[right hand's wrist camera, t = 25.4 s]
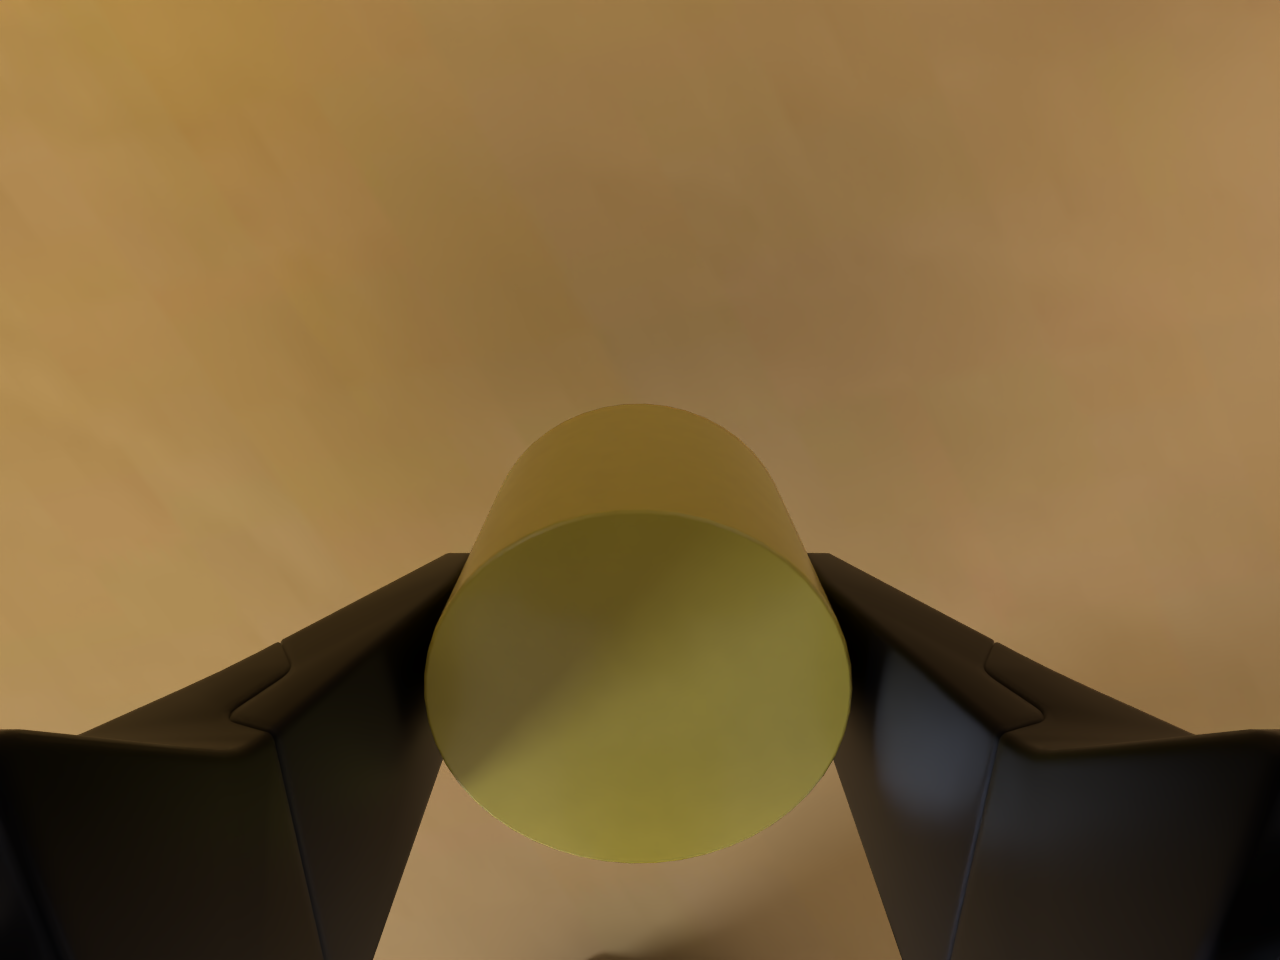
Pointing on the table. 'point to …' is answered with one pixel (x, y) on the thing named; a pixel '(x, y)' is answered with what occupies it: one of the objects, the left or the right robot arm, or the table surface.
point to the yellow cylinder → (638, 645)
